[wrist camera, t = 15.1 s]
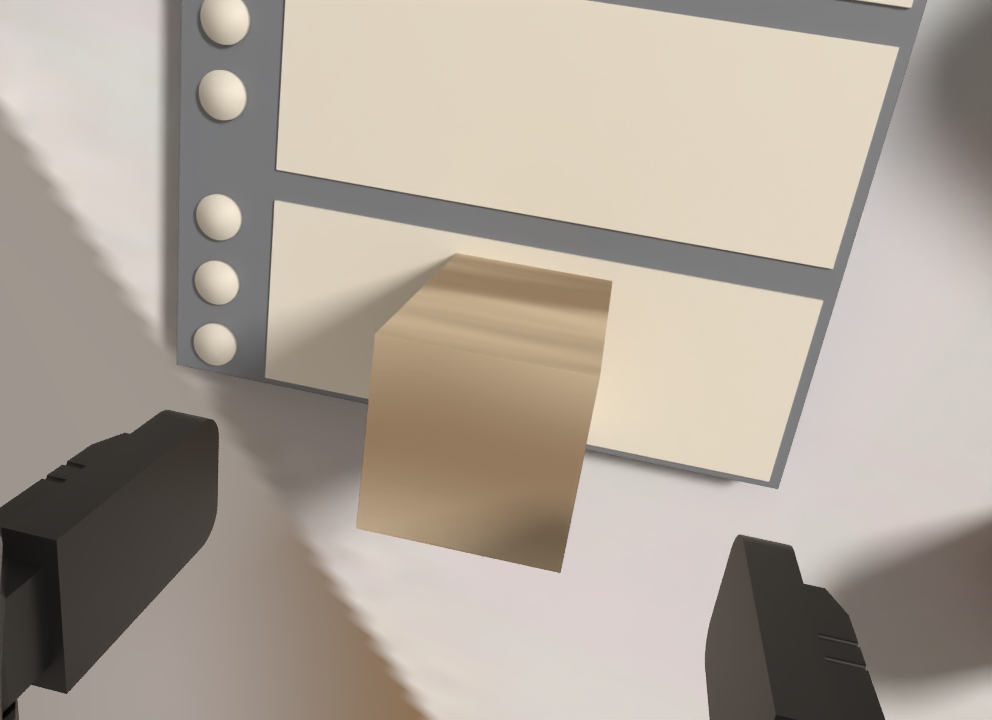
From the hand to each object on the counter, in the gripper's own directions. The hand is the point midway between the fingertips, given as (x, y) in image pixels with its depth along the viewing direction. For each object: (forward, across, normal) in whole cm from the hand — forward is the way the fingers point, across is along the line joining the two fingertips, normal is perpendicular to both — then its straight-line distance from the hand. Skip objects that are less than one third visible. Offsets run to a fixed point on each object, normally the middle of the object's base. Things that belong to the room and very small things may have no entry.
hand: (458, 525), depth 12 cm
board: (+11, +2, -5) cm, 12 cm away
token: (+10, 0, 0) cm, 10 cm away
